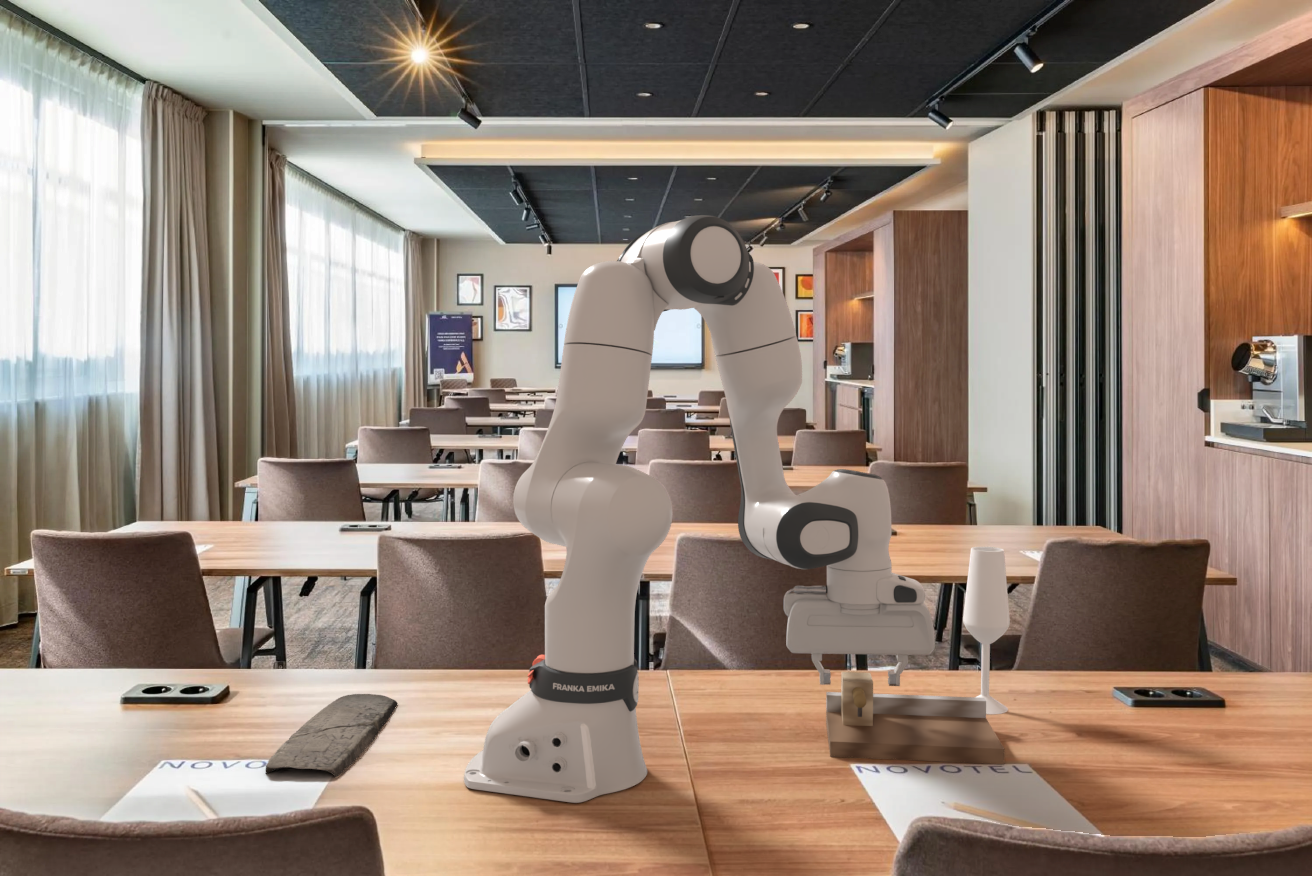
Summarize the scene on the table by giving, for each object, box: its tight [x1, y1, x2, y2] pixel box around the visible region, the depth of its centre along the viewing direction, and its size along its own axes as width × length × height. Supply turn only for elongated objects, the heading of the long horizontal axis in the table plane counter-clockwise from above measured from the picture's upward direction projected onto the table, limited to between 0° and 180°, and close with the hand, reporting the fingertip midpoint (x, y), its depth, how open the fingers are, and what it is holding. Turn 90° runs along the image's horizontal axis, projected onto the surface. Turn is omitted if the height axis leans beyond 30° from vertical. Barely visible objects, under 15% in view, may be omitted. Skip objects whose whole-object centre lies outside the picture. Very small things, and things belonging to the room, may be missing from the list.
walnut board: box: [825, 691, 1005, 765], centre depth 141 cm, size 22×14×4 cm, turn 83°
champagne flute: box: [962, 546, 1011, 715], centre depth 156 cm, size 7×7×24 cm
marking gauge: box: [840, 671, 874, 726], centre depth 142 cm, size 4×9×6 cm, turn 173°
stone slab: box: [265, 693, 399, 778], centre depth 143 cm, size 10×3×30 cm
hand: (859, 684), depth 144 cm, fingers open, 8 cm apart
